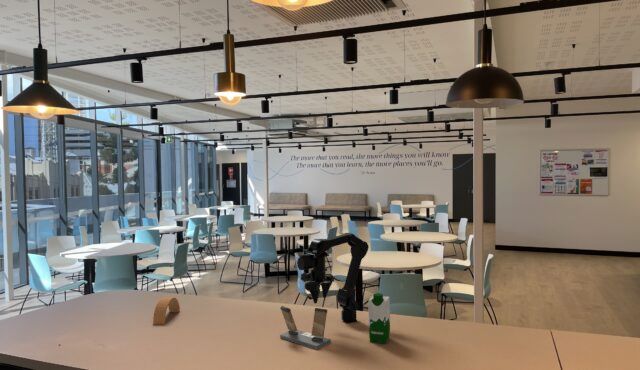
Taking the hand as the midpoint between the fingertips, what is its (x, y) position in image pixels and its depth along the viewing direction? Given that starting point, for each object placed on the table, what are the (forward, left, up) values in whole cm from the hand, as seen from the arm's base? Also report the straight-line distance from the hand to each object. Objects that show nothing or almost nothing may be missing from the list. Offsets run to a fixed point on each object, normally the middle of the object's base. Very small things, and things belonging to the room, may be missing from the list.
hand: (320, 300), depth 205 cm
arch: (+74, -32, -13) cm, 81 cm away
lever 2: (+4, +18, -11) cm, 22 cm away
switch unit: (+9, +13, -13) cm, 21 cm away
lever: (+13, +8, -11) cm, 19 cm away
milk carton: (-22, +19, -13) cm, 32 cm away
